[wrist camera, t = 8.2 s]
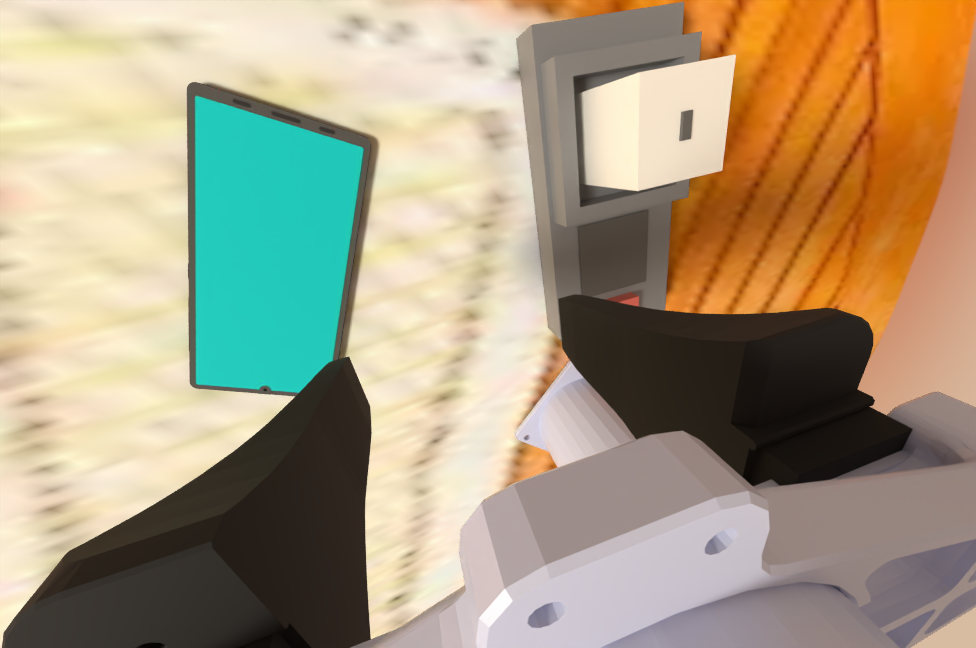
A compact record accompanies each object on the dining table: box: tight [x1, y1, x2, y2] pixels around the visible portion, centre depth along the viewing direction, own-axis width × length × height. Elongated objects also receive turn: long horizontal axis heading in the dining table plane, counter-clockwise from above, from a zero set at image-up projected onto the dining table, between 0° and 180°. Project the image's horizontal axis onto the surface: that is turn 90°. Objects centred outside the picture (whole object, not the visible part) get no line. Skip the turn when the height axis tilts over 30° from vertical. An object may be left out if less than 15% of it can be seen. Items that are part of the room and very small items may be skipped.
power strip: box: [516, 2, 702, 340], centre depth 20 cm, size 20×8×4 cm, turn 11°
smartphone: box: [187, 82, 371, 396], centre depth 18 cm, size 7×1×15 cm
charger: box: [574, 55, 736, 191], centre depth 16 cm, size 4×4×5 cm
